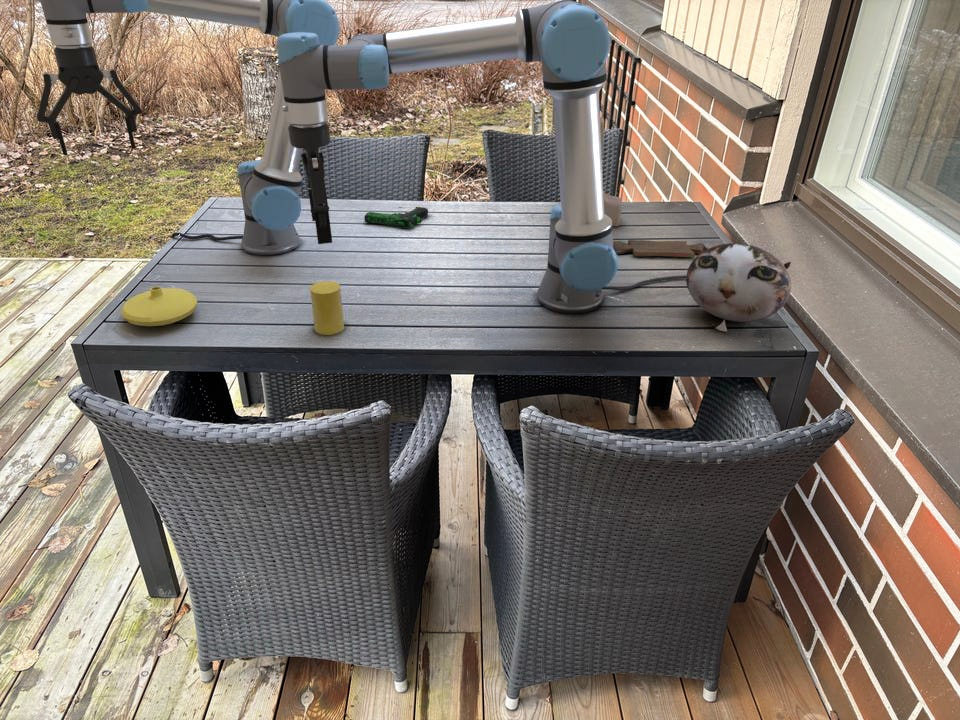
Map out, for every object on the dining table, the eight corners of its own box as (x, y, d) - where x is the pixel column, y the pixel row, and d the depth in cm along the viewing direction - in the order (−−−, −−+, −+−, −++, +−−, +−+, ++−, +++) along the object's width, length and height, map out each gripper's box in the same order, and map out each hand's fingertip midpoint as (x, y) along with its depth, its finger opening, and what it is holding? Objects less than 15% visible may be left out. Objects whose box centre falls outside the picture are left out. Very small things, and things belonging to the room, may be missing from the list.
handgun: (434, 207, 218) (411, 221, 205) (434, 217, 219) (411, 231, 207) (387, 201, 223) (362, 214, 211) (387, 210, 224) (363, 224, 212)
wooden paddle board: (710, 260, 193) (701, 246, 201) (711, 254, 192) (702, 240, 200) (615, 256, 193) (610, 243, 202) (615, 250, 192) (611, 237, 201)
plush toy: (664, 307, 155) (693, 222, 157) (679, 329, 171) (705, 252, 172) (770, 332, 145) (800, 241, 146) (775, 353, 160) (802, 271, 162)
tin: (343, 334, 154) (339, 293, 149) (313, 335, 153) (308, 294, 148) (344, 320, 159) (341, 280, 154) (315, 322, 159) (311, 281, 154)
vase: (172, 295, 169) (166, 268, 165) (214, 314, 161) (208, 285, 157) (109, 320, 158) (101, 291, 154) (150, 341, 150) (143, 311, 146)
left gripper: (2, 51, 139) (35, 161, 149) (140, 45, 149) (162, 148, 159) (3, 46, 144) (35, 152, 155) (137, 41, 154) (158, 140, 165)
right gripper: (284, 111, 143) (299, 213, 154) (291, 140, 123) (307, 255, 134) (322, 108, 145) (334, 209, 156) (335, 137, 125) (348, 251, 135)
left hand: (100, 150), depth 157 cm, fingers open, 13 cm apart
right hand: (322, 231), depth 145 cm, fingers open, 13 cm apart
